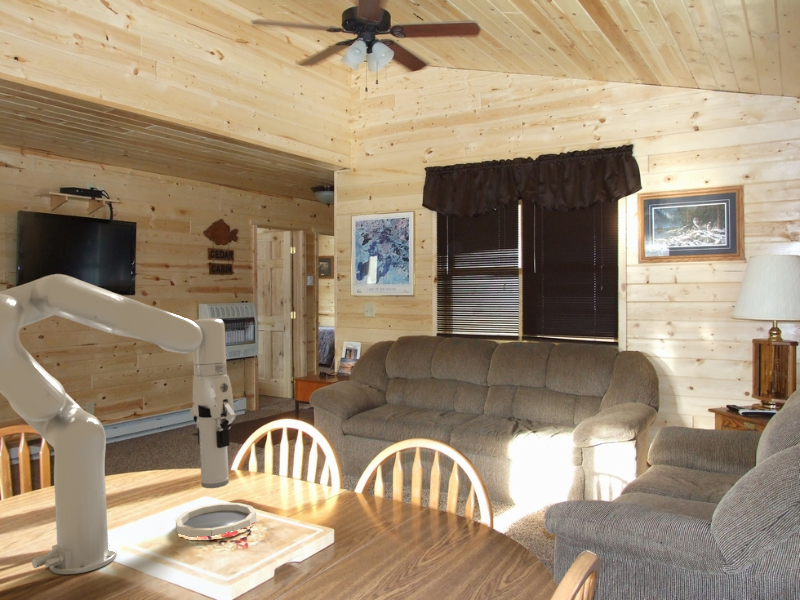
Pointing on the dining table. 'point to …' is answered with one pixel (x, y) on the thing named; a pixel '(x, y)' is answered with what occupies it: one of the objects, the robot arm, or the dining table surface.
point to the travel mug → (211, 452)
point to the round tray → (215, 519)
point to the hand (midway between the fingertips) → (213, 444)
